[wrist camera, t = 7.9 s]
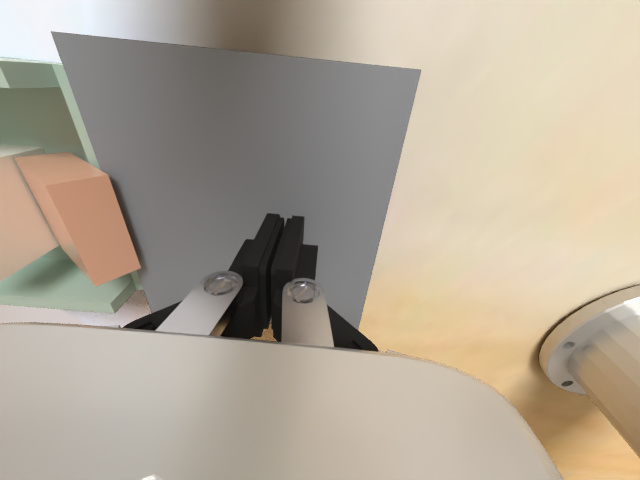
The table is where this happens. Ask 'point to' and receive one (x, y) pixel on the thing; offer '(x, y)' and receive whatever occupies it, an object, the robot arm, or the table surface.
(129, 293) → the bin
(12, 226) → the cream tile
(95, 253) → the terracotta tile
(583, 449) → the table surface
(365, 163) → the slate board
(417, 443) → the robot arm
